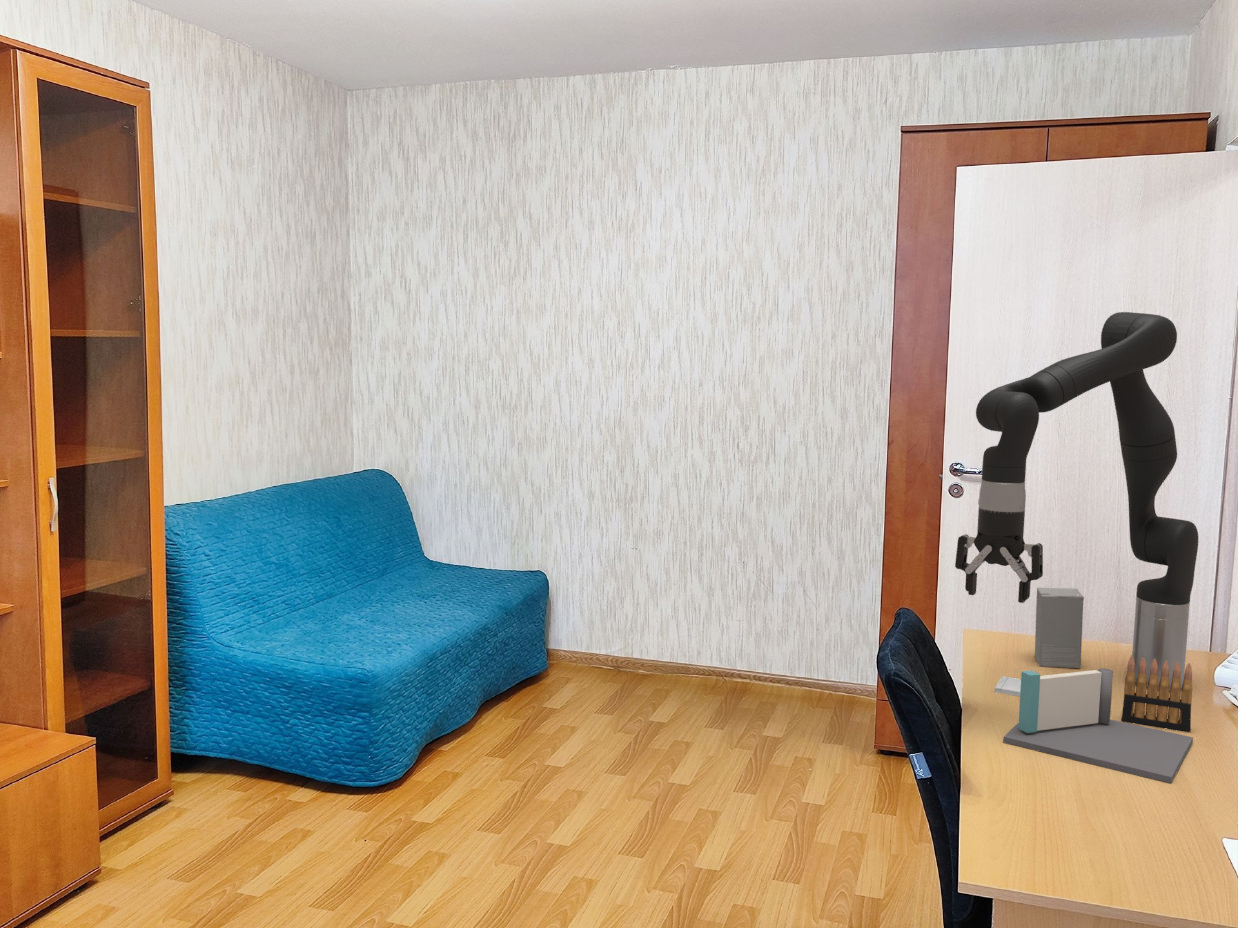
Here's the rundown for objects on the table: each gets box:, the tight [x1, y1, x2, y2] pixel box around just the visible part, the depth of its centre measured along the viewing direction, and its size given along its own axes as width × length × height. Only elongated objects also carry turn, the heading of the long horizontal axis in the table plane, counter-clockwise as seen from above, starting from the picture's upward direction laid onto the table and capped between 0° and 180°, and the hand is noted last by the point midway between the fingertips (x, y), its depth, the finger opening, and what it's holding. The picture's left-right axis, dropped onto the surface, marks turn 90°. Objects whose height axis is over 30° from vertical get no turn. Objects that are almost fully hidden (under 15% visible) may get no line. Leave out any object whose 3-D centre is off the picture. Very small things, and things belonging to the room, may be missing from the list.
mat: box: [1003, 718, 1194, 784], centre depth 168 cm, size 20×25×1 cm
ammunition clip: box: [1120, 655, 1194, 733], centre depth 175 cm, size 11×2×12 cm, turn 62°
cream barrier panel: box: [1018, 667, 1114, 733], centre depth 171 cm, size 18×2×10 cm, turn 107°
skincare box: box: [1034, 587, 1085, 669], centre depth 208 cm, size 8×7×16 cm
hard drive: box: [994, 675, 1021, 698], centre depth 192 cm, size 2×8×12 cm
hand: (996, 598), depth 175 cm, fingers open, 8 cm apart
